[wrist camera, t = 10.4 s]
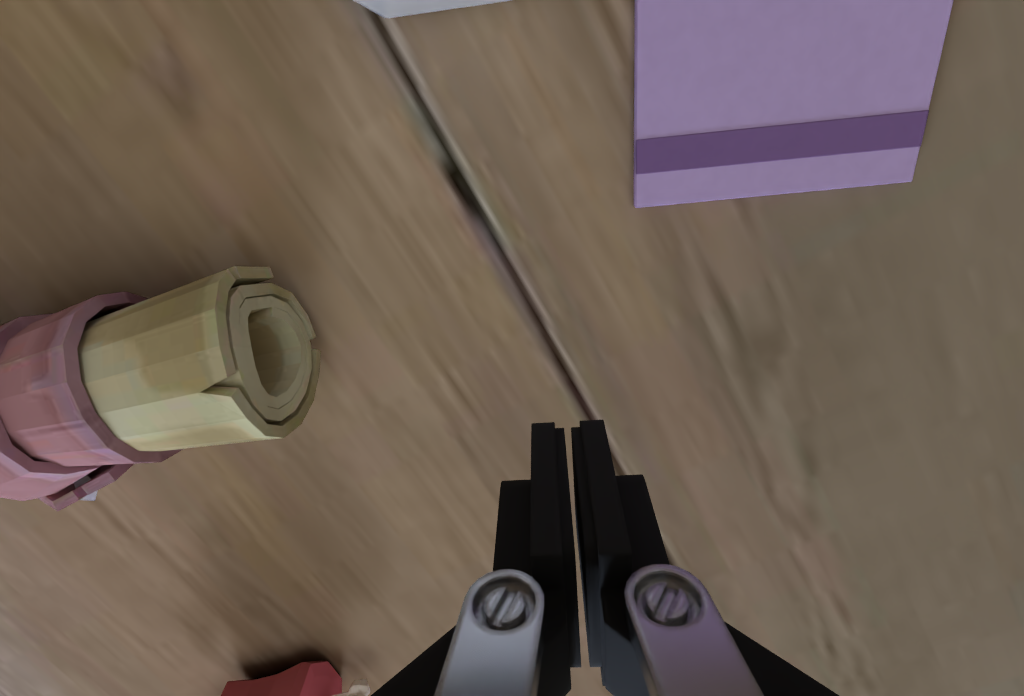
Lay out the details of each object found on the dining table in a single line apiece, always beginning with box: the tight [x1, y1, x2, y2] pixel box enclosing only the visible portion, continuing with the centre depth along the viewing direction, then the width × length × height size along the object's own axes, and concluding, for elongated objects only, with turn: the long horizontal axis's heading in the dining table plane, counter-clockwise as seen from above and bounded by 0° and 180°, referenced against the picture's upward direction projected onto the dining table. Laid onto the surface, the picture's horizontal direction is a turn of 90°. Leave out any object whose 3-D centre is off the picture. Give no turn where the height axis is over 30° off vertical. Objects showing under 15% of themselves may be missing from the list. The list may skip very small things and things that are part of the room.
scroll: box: [0, 266, 321, 511], centre depth 20 cm, size 8×8×20 cm
